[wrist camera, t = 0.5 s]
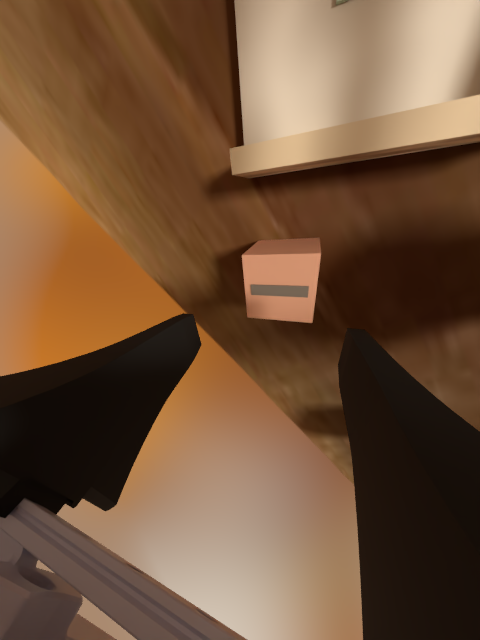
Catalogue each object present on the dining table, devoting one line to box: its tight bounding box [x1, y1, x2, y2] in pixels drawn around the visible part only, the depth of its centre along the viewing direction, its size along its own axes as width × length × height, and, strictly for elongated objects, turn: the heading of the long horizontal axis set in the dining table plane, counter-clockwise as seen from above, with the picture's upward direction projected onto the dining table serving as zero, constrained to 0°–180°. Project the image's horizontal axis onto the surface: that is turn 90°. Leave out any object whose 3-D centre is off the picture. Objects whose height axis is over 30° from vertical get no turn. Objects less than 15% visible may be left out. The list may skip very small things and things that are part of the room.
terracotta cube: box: [242, 238, 321, 323], centre depth 15 cm, size 5×5×5 cm
